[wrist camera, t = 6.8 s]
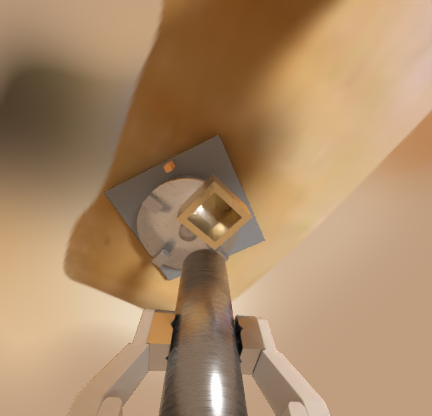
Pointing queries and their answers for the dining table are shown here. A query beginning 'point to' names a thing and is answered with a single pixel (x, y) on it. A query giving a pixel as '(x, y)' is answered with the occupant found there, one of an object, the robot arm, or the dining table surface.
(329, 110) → the dining table surface
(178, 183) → the grey round chuck
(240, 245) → the base
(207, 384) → the steel pin
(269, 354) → the robot arm
